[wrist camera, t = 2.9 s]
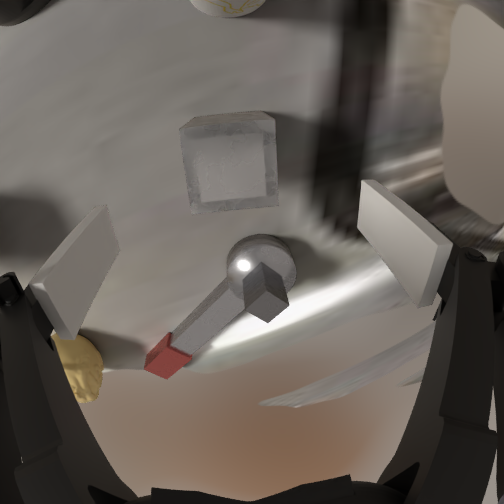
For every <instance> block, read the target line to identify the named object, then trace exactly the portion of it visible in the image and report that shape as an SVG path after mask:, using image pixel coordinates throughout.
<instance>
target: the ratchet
mask: <svg viewBox="0 0 504 504" xmlns="http://www.w3.org/2000/svg"><path fill="white" fill-rule="evenodd" d="M296 275H297V273H296V267H295V264H294V261H293V258H292V255H291V252H290V250H289V248H288V246H287V245H286V244H285V243H284V242H283V241H282V240H280V239H279V238H277V237H274V236H271V235H266V234H257V235H252V236H248V237H246V238H244V239H242V240H240V241H239V242H237V243H236V244H235V245H234V246H233V247H232V249H231V250H230V252H229V254H228V258H227V277H226V278H225V279H224V280H223V281H222V282H221V283H220V284H219V286H218V287H217V288H216V289H215V290H214V291H213V292H212V293H211V294H210V295H209V296H208V297H207V298H206V299H205V300H204V301H203V302H202V303H201V304H200V305H199V306H198V307H197V308H196V309H195V310H194V311H193V312H192V313H191V314H190V315H189V316H188V317H187V318H186V319H185V320H184V321H183V322H182V323H181V324H180V325H179V326H178V327H177V328H176V329H175V330H174V331H173V332H172V333H168V334H167V335H166V336H165V337H164V338H163V339H162V340H161V341H160V342H159V343H158V344H157V345H156V346H155V347H154V348H153V349H152V350H151V351H150V352H149V353H148V354H147V356H146V361H145V366H144V370H147V371H149V372H151V373H153V374H156V375H158V376H160V377H163V378H165V379H168V378H169V377H170V376H172V375H173V374H174V373H175V372H176V371H178V370H179V369H180V368H182V367H183V366H184V365H185V364H187V363H188V362H189V361H190V360H191V359H192V354H193V353H194V352H195V351H196V350H198V349H199V348H200V347H201V346H202V345H203V344H205V343H206V342H207V341H208V340H209V339H210V338H212V337H213V336H214V335H215V334H216V333H217V332H219V331H220V330H221V329H222V328H223V327H224V326H225V325H227V324H228V323H229V322H230V321H231V320H232V319H233V318H235V317H236V316H237V315H238V314H239V313H240V312H241V311H242V310H244V309H245V311H247V312H249V313H251V314H253V315H254V316H256V317H258V318H260V319H261V320H263V321H265V322H267V323H269V322H270V321H271V320H272V319H274V318H275V317H276V316H277V315H278V314H280V313H281V312H282V311H283V310H284V309H286V308H287V307H288V306H289V302H288V298H287V293H288V292H289V291H290V289H291V288H292V287H293V285H294V283H295V280H296Z"/></svg>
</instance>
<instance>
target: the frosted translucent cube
mask: <svg viewBox="0 0 504 504" xmlns="http://www.w3.org/2000/svg"><path fill="white" fill-rule="evenodd" d="M179 134H180V141H181V148H182V155H183V162H184V169H185V175H186V181H187V188H188V194H189V200H190V206H191V212H192V214H201V213H210V212H219V211H229V210H239V209H250V208H261V207H272V206H279V203H278V174H277V149H276V128H275V119H273V118H272V117H270V116H269V115H267V114H265V113H264V112H262V111H250V112H237V113H227V114H217V115H209V116H201V117H194V118H193V119H191V120H190V121H189V122H187V123H186V124H185V125H184V126H182V127H181V128H180V129H179Z"/></svg>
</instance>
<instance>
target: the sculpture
mask: <svg viewBox="0 0 504 504" xmlns="http://www.w3.org/2000/svg"><path fill="white" fill-rule="evenodd" d="M51 337H52V339H53V340H54V342H55V344H56V348H57V351H58V354H59V357H60V359H61V362H62V365H63V368H64V371H65V373H66V376H67V378H68V381H69V383H70V386H71V388H72V391H73V393H74V395H75V398H76V400H77V401H78V402H81V403H86V402H89V401H94V400H96V399H97V397H98V395H99V388H100V387H101V384H102V375H103V374H102V370H103V369H104V366H103V361H102V358H101V355H100V353H99V351H97V349H96V348H95V346H94V345H93V344H92V343H91V342H90V341H89V340H88V339H86V338H84V337H83V336H80V335H78V334H77V336H76V338H75V340H65V339H60V337H59V336H58V334H57V333H56V334H54V335H52V336H51Z"/></svg>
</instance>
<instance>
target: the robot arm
mask: <svg viewBox="0 0 504 504" xmlns="http://www.w3.org/2000/svg"><path fill="white" fill-rule="evenodd" d="M49 1H50V0H0V26H12V25H16V24H18V23H21V22H23V21H25V20H26V19H28V18H30V17H31V16H33V15H34V14H35V13H37V12H38V11H39V10H40V9H42V8H43V7H44V6H45V5H46V4H47V3H48V2H49ZM357 228H358V229H359V230H360V232H361V233H362V234H363V235H364V237H365V238H366V239H367V240H368V242H369V243H370V244H371V245H372V247H373V248H374V249H375V250H376V252H377V253H378V254H379V256H380V257H381V258H382V260H383V261H384V262H385V264H386V265H387V266H388V268H389V269H390V270H391V272H392V273H393V274H394V276H395V277H396V278H397V280H398V281H399V283H400V284H401V285H402V287H403V288H404V290H405V291H406V292H407V294H408V295H409V297H410V298H411V300H412V301H413V302H414V304H415V305H416V307H417V308H420V307H425V306H429V305H432V304H433V301H434V299H435V296H436V294H437V292H438V294H439V295H440V296H441V298H442V299H441V302H440V304H439V307H438V309H437V312H436V314H435V316H434V318H433V320H434V321H435V320H436V325H435V330H434V335H433V340H432V344H431V348H430V353H429V357H428V361H427V365H426V368H425V372H424V376H423V379H422V383H421V386H420V389H419V393H418V396H417V399H416V402H415V405H414V408H413V410H412V414H411V416H410V419H409V421H408V424H407V427H406V430H405V432H404V434H403V437H402V439H401V442H400V444H399V446H398V449H397V451H396V453H395V455H394V457H393V458H392V460H391V461H390V463H389V464H388V465H387V467H386V468H385V470H384V471H383V473H382V475H381V476H380V478H379V480H378V481H377V483H371V482H363V481H351V477H350V474H349V475H345V476H341V477H337V478H333V479H328V480H323V481H319V482H314V483H308V484H302V485H299V486H297V487H294V488H292V489H289V490H287V491H283V492H281V493H278V494H275V495H272V496H269V497H266V498H262V499H259V500H256V501H251V502H250V501H248V502H247V501H240V500H235V499H230V498H225V497H220V496H215V495H211V494H207V493H203V492H199V491H183V490H171V489H160V488H152V489H151V495H148V496H144V497H139V498H138V497H137V496H136V494H135V493H134V492H133V491H132V490H131V489H130V488H129V487H128V486H127V485H126V484H124V482H122V481H121V479H120V478H119V477H118V476H117V474H116V473H115V471H114V470H113V468H112V466H111V465H110V463H109V462H108V460H107V458H106V457H105V455H104V453H103V451H102V450H101V448H100V446H99V445H98V443H97V441H96V439H95V437H94V435H93V433H92V431H91V430H90V427H89V425H88V424H87V421H86V419H85V418H84V415H83V413H82V411H81V409H80V407H79V405H78V403H77V400H76V398H75V395H74V393H73V391H72V388H71V386H70V383H69V381H68V378H67V376H66V373H65V371H64V368H63V365H62V362H61V359H60V357H59V354H58V351H57V348H56V344H55V342H54V340H53V339H52V337H51V336H50V335H51V333H52V331H53V329H54V330H55V331H56V333H57V334H58V336H59V337H60V339H65V340H75V338H76V336H77V334H78V331H79V329H80V327H81V325H82V323H83V321H84V318H85V316H86V314H87V312H88V310H89V308H90V306H91V304H92V302H93V300H94V298H95V296H96V294H97V292H98V290H99V288H100V286H101V284H102V282H103V281H104V279H105V277H106V275H107V273H108V271H109V269H110V268H111V266H112V264H113V262H114V260H115V259H116V257H117V255H118V253H119V252H120V248H119V245H118V242H117V239H116V235H115V232H114V229H113V226H112V222H111V219H110V215H109V212H108V208H107V205H103V206H97V207H94V208H93V209H92V210H91V211H90V212H89V213H88V214H87V215H86V216H85V217H84V218H83V220H82V221H81V222H80V223H79V224H78V225H77V226H76V227H75V228H74V229H73V230H72V231H71V233H70V234H69V235H68V236H67V237H66V238H65V239H64V241H63V242H62V243H61V244H60V245H59V246H58V248H57V249H56V250H55V251H54V252H53V253H52V255H51V256H50V257H49V258H48V260H47V261H46V262H45V263H44V265H43V266H42V267H41V268H40V270H39V271H38V272H37V273H36V275H35V276H34V277H33V279H32V280H31V281H30V283H29V284H28V286H27V287H26V288H25V290H23V288H22V286H21V285H20V283H19V281H18V279H17V277H16V275H15V273H14V272H9V273H6V274H4V275H2V276H1V277H0V504H482V501H483V498H484V495H485V492H486V488H487V485H488V482H489V478H490V475H491V471H492V467H493V463H494V459H495V454H496V449H497V475H496V481H497V497H498V504H504V252H500V253H499V256H498V259H497V261H496V262H488V261H487V258H486V257H485V256H484V255H483V254H482V253H481V252H479V251H478V250H476V249H473V248H469V247H462V248H460V247H459V246H458V245H457V244H456V243H455V242H454V241H452V240H451V239H450V238H449V237H448V236H447V235H445V233H443V232H442V231H441V230H439V228H438V227H437V226H435V225H434V224H433V223H431V222H429V221H428V220H426V219H425V218H423V217H422V216H421V215H420V214H419V213H417V212H416V211H415V210H414V209H412V208H411V207H410V206H409V205H407V204H406V203H405V202H404V201H402V200H401V199H400V198H398V197H397V196H396V195H395V194H393V193H392V192H391V191H389V190H388V189H387V188H385V187H384V186H383V185H381V184H380V183H378V182H377V181H376V180H362V182H361V195H360V206H359V216H358V225H357ZM436 318H437V319H436ZM493 388H494V397H495V408H496V423H497V433H496V431H494V430H490V429H489V427H488V421H489V415H490V408H491V400H492V390H493ZM21 457H22V459H21ZM22 461H23V463H22Z"/></svg>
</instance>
